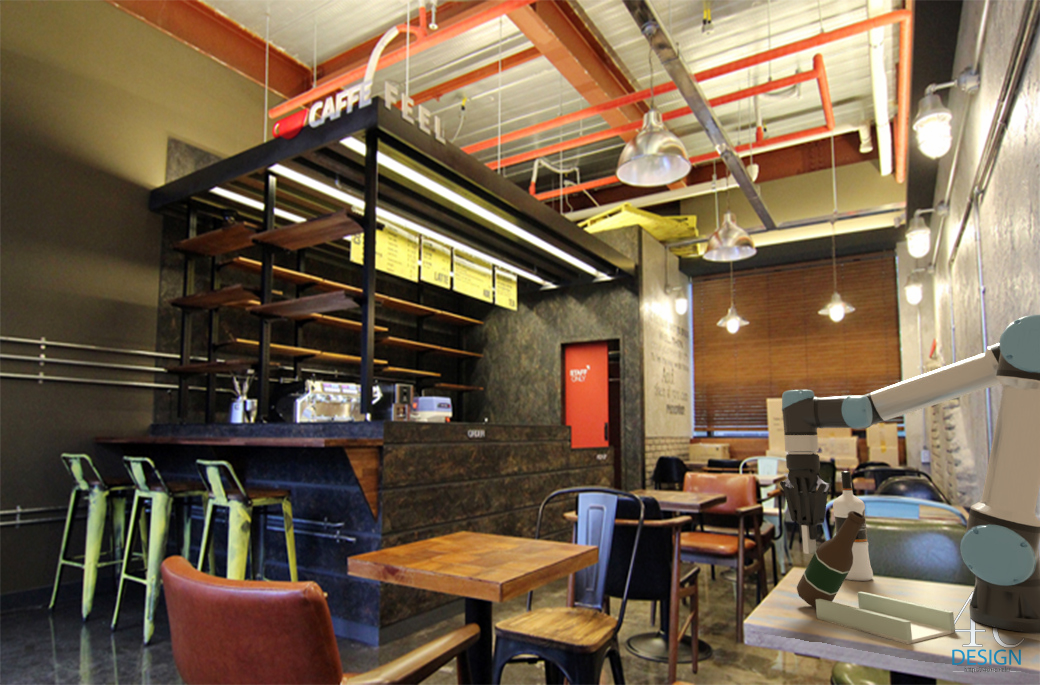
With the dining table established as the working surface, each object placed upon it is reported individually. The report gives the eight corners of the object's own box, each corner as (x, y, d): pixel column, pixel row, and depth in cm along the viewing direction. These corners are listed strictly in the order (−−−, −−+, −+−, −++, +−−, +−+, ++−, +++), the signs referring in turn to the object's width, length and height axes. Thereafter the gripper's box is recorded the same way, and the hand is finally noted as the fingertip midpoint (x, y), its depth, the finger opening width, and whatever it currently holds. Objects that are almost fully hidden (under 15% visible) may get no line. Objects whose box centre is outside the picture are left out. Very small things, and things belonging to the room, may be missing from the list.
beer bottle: (825, 615, 143) (874, 529, 136) (792, 594, 147) (838, 510, 140) (830, 601, 150) (877, 518, 143) (798, 582, 153) (842, 500, 146)
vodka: (843, 573, 185) (835, 470, 190) (877, 578, 179) (868, 471, 183) (831, 578, 179) (823, 471, 184) (866, 583, 172) (857, 472, 177)
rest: (955, 632, 127) (953, 611, 128) (907, 644, 120) (905, 622, 121) (863, 609, 145) (861, 591, 146) (816, 618, 138) (815, 599, 138)
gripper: (836, 453, 149) (845, 556, 145) (790, 452, 161) (797, 548, 157) (814, 453, 146) (823, 558, 142) (769, 453, 157) (776, 550, 153)
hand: (810, 553), depth 149 cm, fingers closed
